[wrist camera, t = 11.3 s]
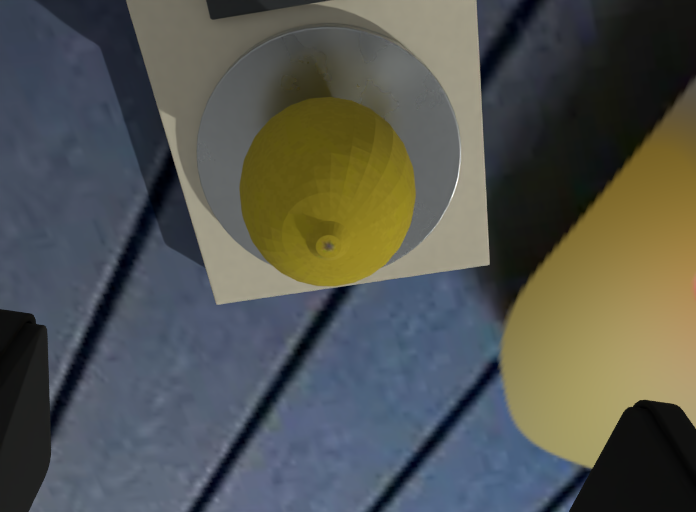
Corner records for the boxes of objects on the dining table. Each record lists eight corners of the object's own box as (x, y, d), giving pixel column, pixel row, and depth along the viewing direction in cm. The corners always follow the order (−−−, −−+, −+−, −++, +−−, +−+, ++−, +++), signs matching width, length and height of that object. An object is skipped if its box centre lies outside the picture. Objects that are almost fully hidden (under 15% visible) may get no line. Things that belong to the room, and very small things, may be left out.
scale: (138, -19, 24) (115, -9, 21) (460, -73, 23) (478, -70, 21) (223, 279, 30) (213, 315, 27) (479, 241, 29) (494, 274, 27)
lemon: (431, 128, 24) (476, 222, 17) (345, 239, 26) (353, 363, 19) (305, 40, 22) (297, 102, 15) (224, 165, 24) (184, 272, 17)
